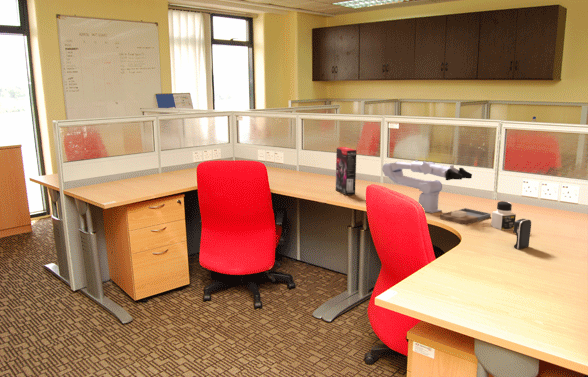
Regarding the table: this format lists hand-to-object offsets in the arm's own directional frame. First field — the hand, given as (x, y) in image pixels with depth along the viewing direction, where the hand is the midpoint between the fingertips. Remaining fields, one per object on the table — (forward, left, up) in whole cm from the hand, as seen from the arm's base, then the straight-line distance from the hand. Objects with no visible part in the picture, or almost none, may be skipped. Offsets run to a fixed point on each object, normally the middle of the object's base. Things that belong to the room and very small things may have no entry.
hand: (466, 176), depth 222 cm
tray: (-1, +8, -21) cm, 22 cm away
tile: (-1, -3, -19) cm, 19 cm away
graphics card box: (-80, -2, -21) cm, 83 cm away
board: (-1, -3, -21) cm, 21 cm away
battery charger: (+37, -19, -21) cm, 47 cm away
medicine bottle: (+19, +1, -21) cm, 29 cm away
